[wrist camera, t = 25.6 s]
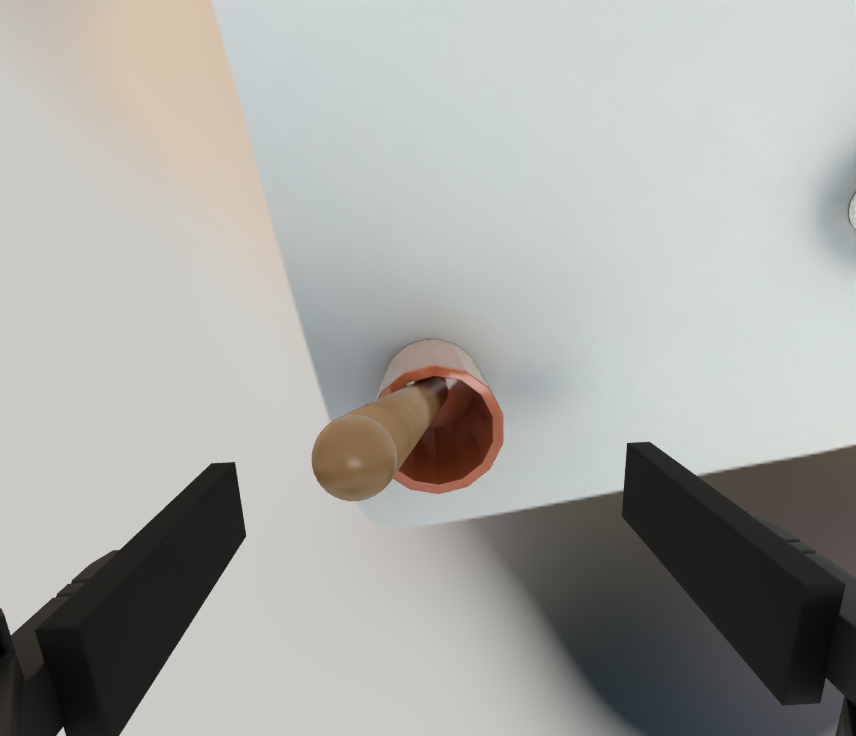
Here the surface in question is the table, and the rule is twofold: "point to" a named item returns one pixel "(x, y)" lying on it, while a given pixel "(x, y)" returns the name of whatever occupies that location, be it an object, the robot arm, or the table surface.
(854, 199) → the white cylindrical cage
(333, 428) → the stick
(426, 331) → the table surface
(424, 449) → the utensil pot
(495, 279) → the table surface
